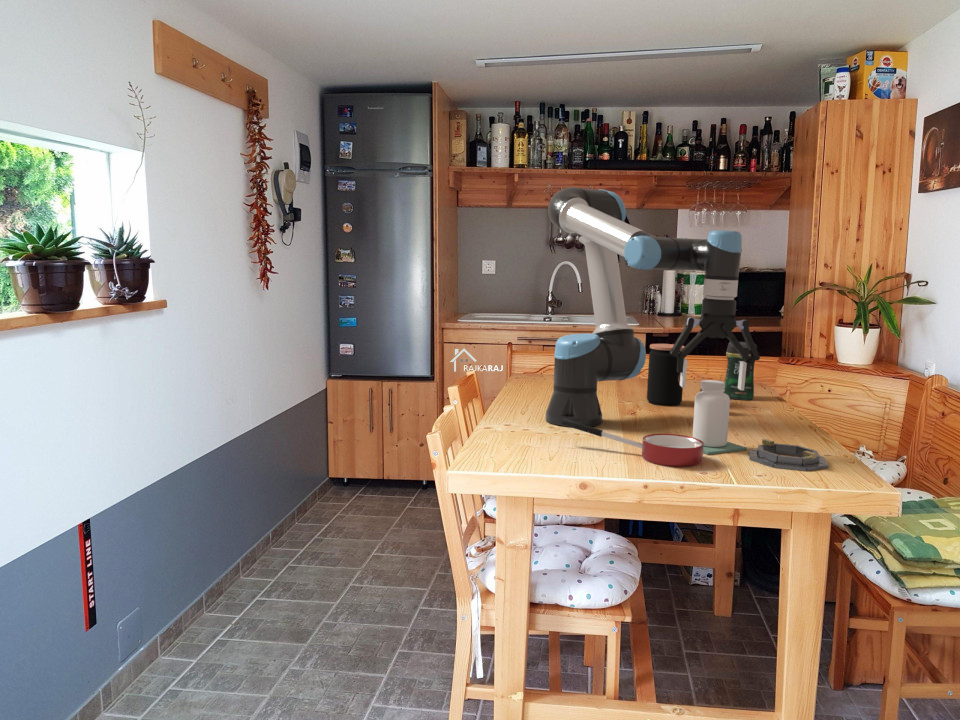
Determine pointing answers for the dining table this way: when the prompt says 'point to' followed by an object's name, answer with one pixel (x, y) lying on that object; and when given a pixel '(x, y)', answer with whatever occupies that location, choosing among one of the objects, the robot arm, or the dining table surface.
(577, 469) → the dining table surface
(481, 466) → the dining table surface
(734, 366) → the coffee jar
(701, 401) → the pill bottle
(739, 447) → the rubber mat
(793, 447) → the ring
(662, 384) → the coffee jar
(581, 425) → the frying pan
